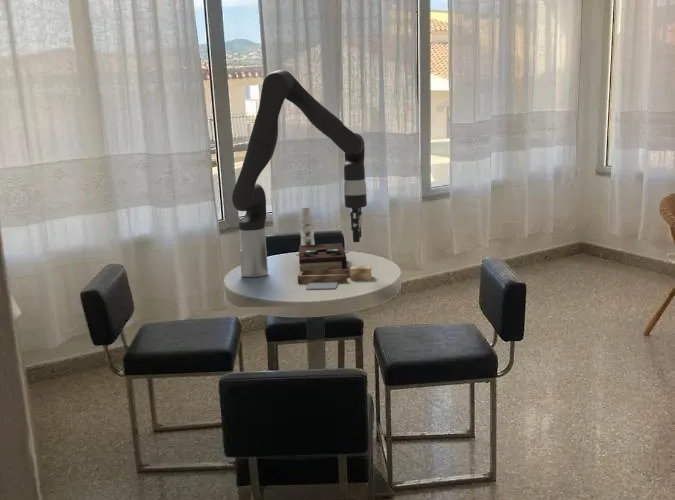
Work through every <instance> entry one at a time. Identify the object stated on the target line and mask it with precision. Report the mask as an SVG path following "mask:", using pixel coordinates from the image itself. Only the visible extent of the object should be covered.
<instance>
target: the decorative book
mask: <svg viewBox="0 0 675 500" xmlns="http://www.w3.org/2000/svg"><path fill="white" fill-rule="evenodd" d="M346 253H347V254H349V251H345V248H344V245H343V243H342V242H340V243H339V242H338V243H322V244H320V243H319V244H315V245H301V244H300V245H299V246H298V254H295V256H298V260H299V261H298V263H299V273H300V272H301V270H326V269H348V268H347V267H348V265H347V255H346Z"/></svg>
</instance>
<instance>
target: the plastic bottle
mask: <svg viewBox="0 0 675 500" xmlns="http://www.w3.org/2000/svg"><path fill="white" fill-rule="evenodd" d="M300 210H301V212H300V213H301V216H300V217H299V220H298V227H299V228H298V229H299V233H300V246H301V245H316V244H315V236H314V235H315V220H314V217H313V216H312V215H311V213H312V212H311V208H310V207H305V208H301V209H300Z"/></svg>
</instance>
